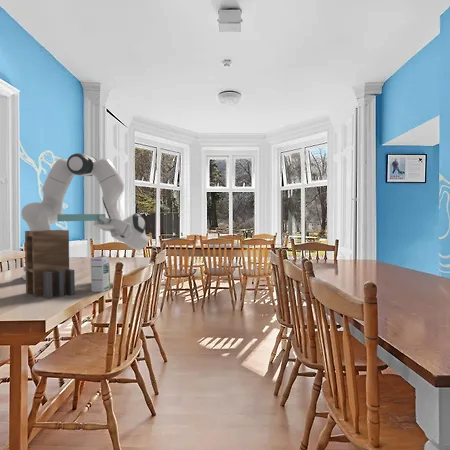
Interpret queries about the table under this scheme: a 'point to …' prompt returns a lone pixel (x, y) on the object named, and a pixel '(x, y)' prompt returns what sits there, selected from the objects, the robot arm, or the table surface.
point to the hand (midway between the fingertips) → (96, 216)
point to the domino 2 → (59, 283)
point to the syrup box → (100, 274)
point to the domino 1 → (47, 284)
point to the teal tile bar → (78, 217)
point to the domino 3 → (70, 281)
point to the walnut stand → (45, 257)
